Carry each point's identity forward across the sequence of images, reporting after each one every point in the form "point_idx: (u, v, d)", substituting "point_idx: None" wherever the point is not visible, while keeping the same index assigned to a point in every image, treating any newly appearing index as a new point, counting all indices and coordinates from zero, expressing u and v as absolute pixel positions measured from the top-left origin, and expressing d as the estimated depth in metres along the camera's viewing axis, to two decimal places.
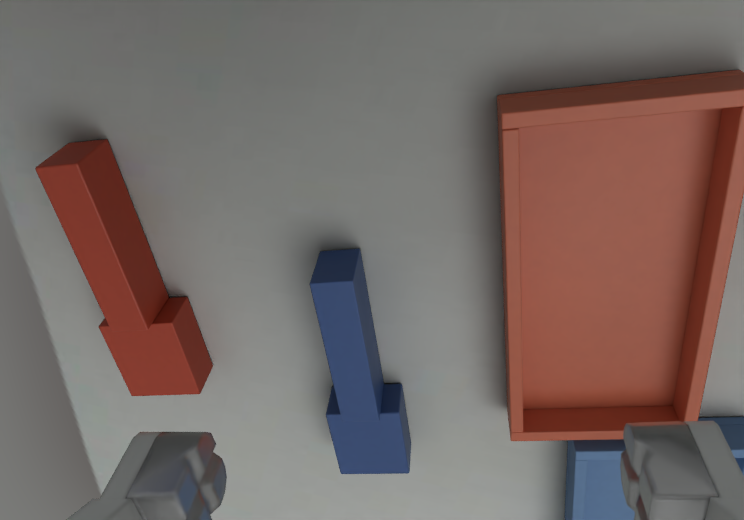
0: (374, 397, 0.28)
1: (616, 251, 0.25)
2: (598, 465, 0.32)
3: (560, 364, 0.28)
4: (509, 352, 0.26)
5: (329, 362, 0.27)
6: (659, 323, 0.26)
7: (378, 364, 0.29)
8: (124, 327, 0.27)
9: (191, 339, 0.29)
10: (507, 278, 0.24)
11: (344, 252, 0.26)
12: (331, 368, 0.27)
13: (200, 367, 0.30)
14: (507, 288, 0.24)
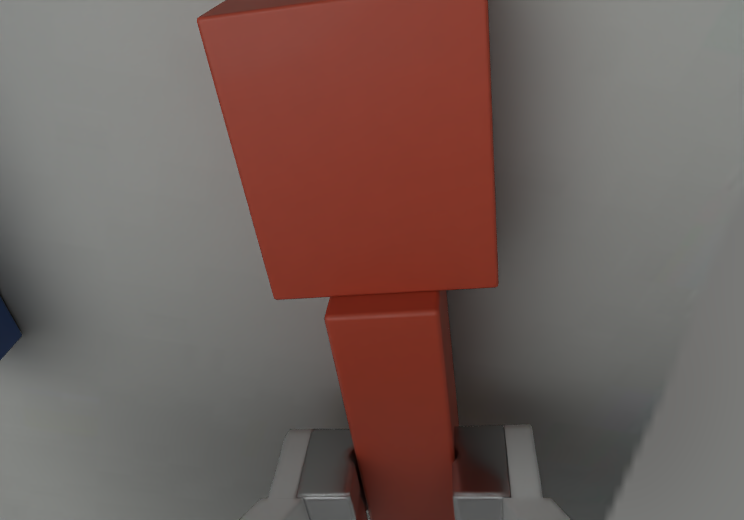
0: None
1: None
2: None
3: None
4: None
5: None
6: None
7: None
8: (392, 327, 0.09)
9: None
10: None
11: None
12: None
13: None
14: None
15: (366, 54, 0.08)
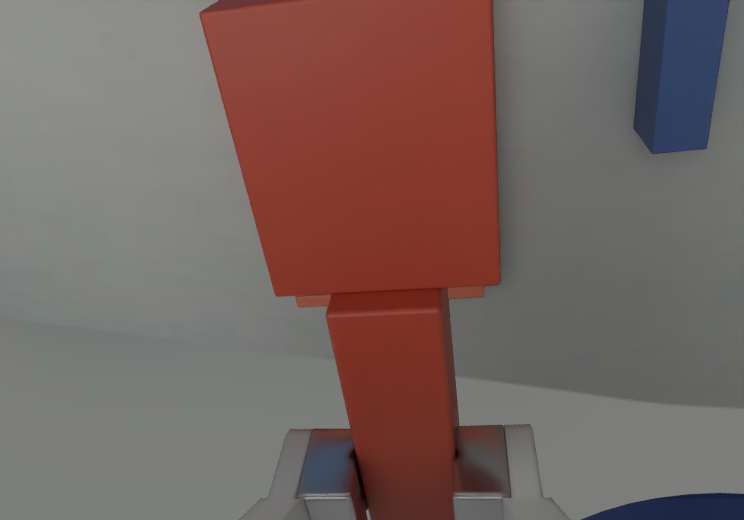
0: None
1: None
2: None
3: None
4: None
5: (724, 20, 0.19)
6: None
7: None
8: (393, 325, 0.09)
9: None
10: None
11: None
12: (725, 8, 0.19)
13: None
14: None
15: (370, 49, 0.08)
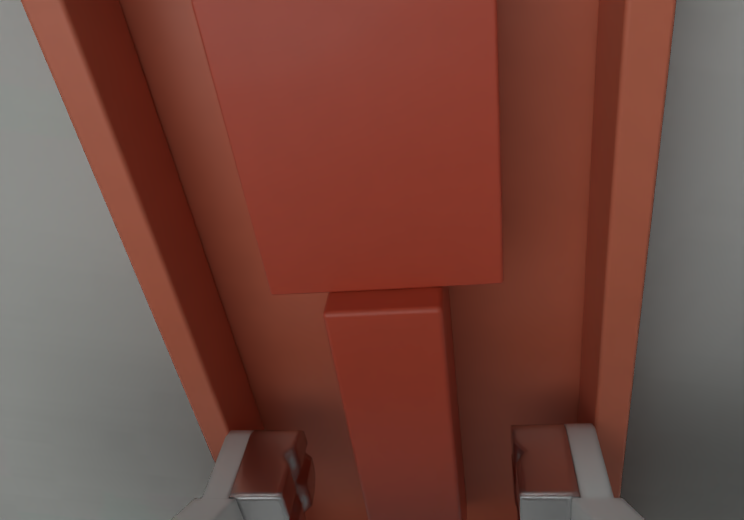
0: None
1: None
2: None
3: None
4: (646, 240, 0.09)
5: None
6: None
7: None
8: (393, 324, 0.09)
9: None
10: (626, 424, 0.11)
11: None
12: None
13: None
14: (628, 403, 0.11)
15: (368, 37, 0.07)
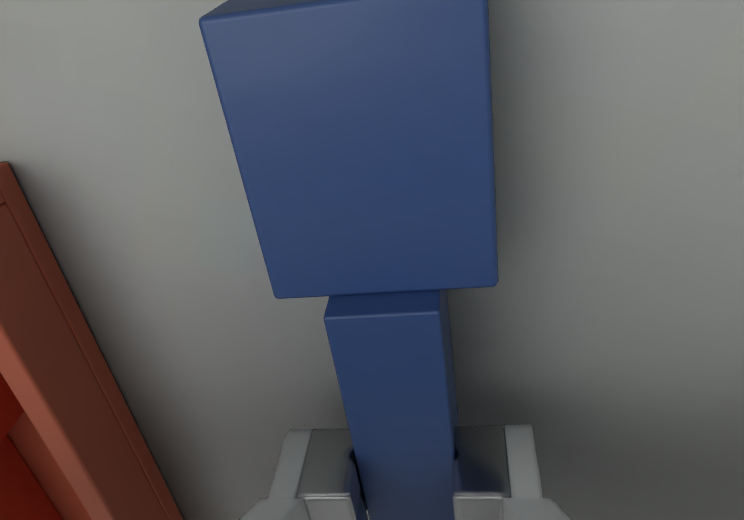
0: (341, 389, 0.10)
1: None
2: None
3: None
4: (71, 449, 0.13)
5: None
6: None
7: None
8: None
9: None
10: None
11: None
12: (449, 463, 0.11)
13: None
14: None
15: None
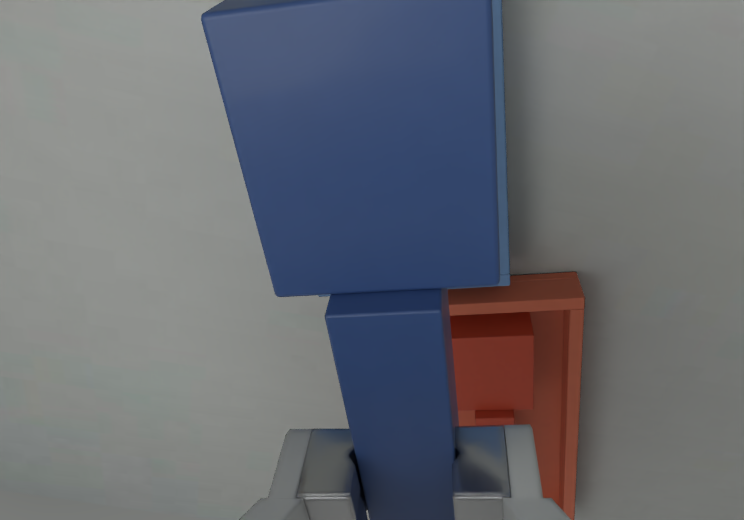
0: (342, 388, 0.10)
1: None
2: None
3: None
4: (579, 395, 0.28)
5: None
6: None
7: None
8: (498, 422, 0.28)
9: None
10: (576, 453, 0.30)
11: None
12: (450, 463, 0.11)
13: None
14: (576, 445, 0.30)
15: (498, 349, 0.26)
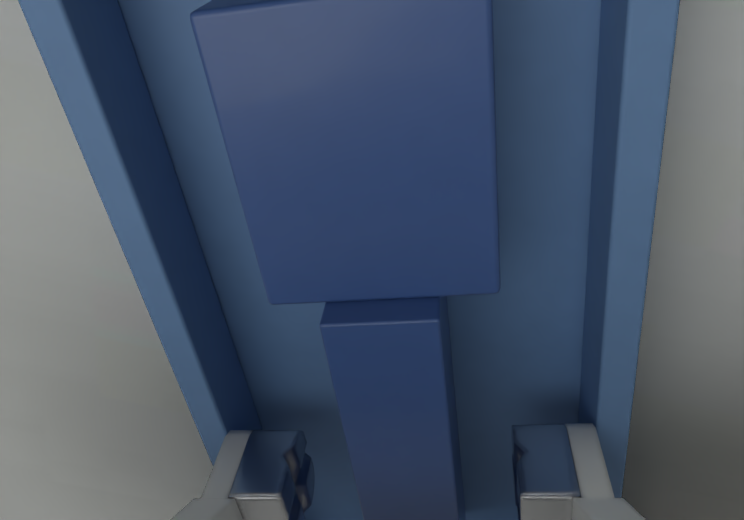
0: (337, 399, 0.10)
1: None
2: None
3: None
4: None
5: (452, 488, 0.11)
6: None
7: None
8: None
9: None
10: None
11: None
12: (449, 475, 0.11)
13: None
14: None
15: None
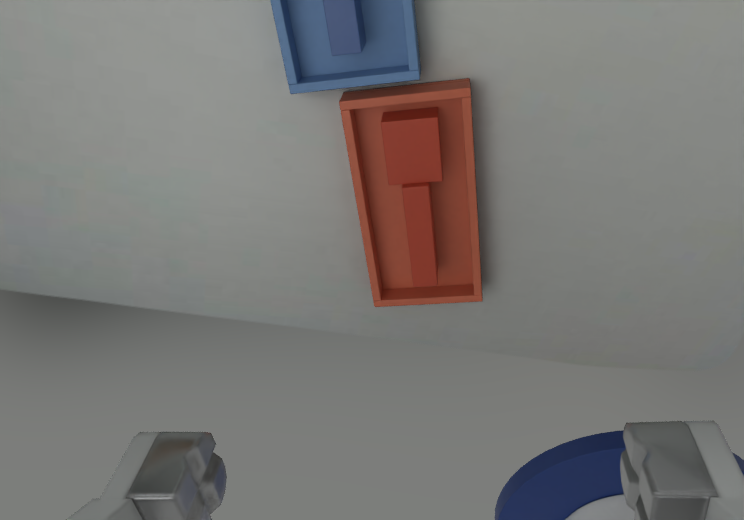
0: None
1: None
2: (392, 29, 0.37)
3: None
4: (474, 171, 0.40)
5: None
6: (379, 170, 0.42)
7: None
8: (417, 190, 0.40)
9: None
10: (477, 222, 0.42)
11: None
12: None
13: None
14: (477, 216, 0.42)
15: (414, 129, 0.38)
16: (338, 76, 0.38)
